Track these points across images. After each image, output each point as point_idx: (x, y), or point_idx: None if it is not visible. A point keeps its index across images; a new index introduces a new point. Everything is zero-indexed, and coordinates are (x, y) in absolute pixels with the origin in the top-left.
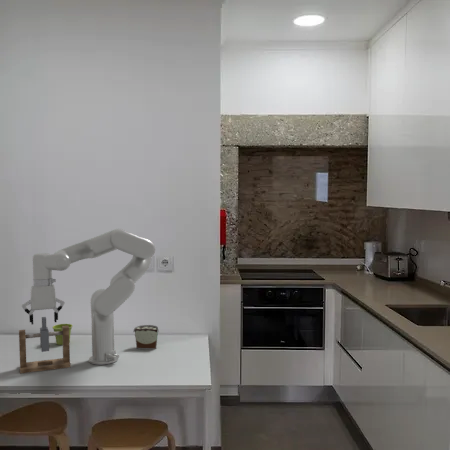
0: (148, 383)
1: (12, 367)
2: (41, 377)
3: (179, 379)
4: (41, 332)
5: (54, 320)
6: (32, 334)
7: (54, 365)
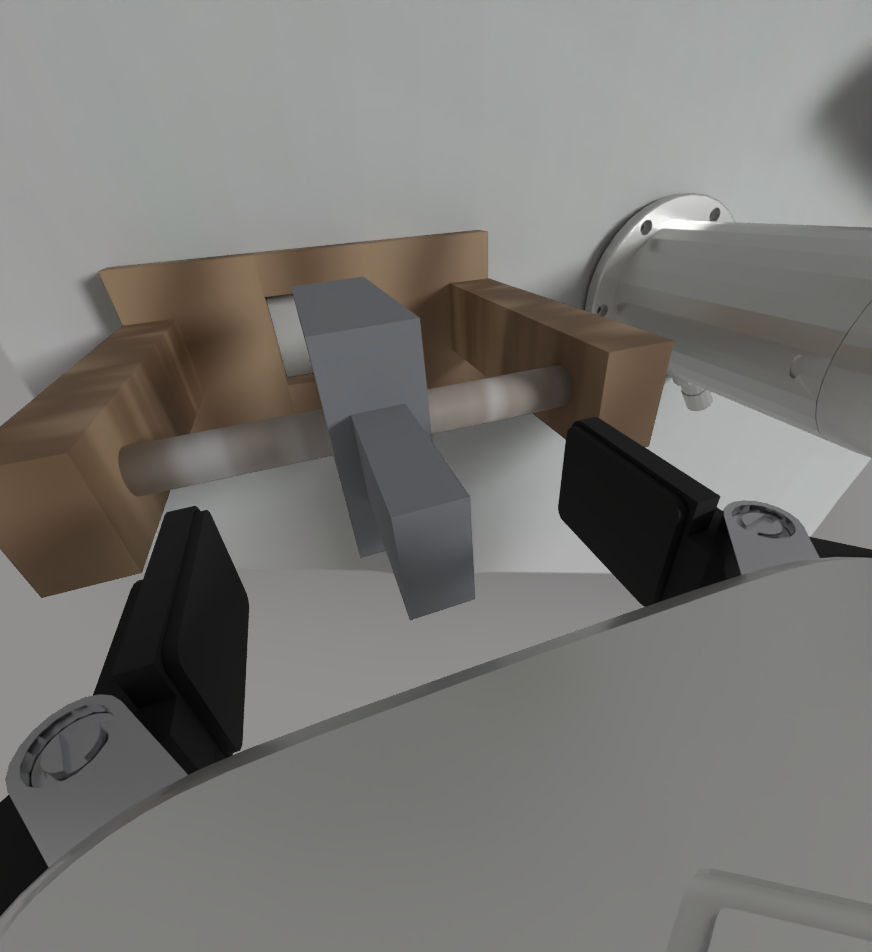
0: None
1: (36, 272)
2: (333, 502)
3: None
4: (363, 551)
5: (570, 470)
6: (229, 472)
7: None
